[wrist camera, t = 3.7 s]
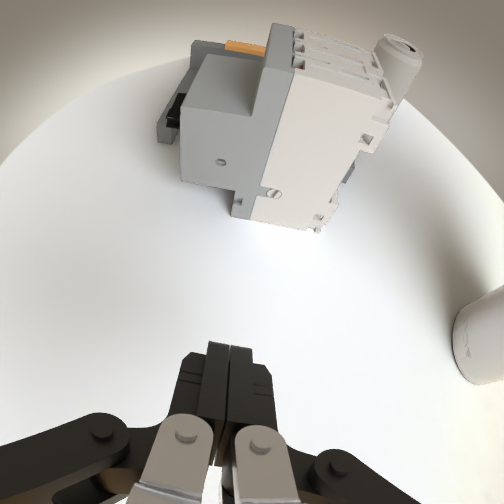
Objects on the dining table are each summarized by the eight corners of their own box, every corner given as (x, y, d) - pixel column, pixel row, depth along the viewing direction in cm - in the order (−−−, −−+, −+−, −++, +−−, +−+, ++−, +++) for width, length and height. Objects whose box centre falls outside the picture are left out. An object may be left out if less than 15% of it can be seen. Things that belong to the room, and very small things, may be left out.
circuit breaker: (183, 146, 31) (189, 10, 18) (318, 172, 32) (378, 53, 19) (162, 204, 27) (152, 52, 14) (319, 233, 29) (401, 107, 15)
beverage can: (396, 126, 40) (435, 64, 29) (360, 120, 38) (397, 50, 28) (378, 99, 42) (410, 39, 32) (343, 92, 41) (373, 27, 30)
